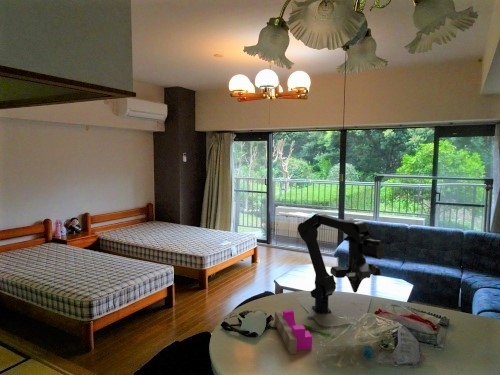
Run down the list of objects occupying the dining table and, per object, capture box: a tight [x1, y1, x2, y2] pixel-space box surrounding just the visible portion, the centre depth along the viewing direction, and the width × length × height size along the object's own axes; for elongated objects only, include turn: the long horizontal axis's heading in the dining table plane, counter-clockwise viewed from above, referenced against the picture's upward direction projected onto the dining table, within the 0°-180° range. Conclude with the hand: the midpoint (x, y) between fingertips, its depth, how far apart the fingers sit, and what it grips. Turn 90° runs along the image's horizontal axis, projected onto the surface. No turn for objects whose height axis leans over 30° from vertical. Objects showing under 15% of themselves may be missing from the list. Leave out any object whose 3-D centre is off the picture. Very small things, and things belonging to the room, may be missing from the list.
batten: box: [274, 310, 298, 355], centre depth 123 cm, size 22×2×5 cm, turn 10°
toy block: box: [282, 309, 313, 351], centre depth 123 cm, size 15×6×8 cm, turn 10°
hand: (354, 292), depth 133 cm, fingers closed
